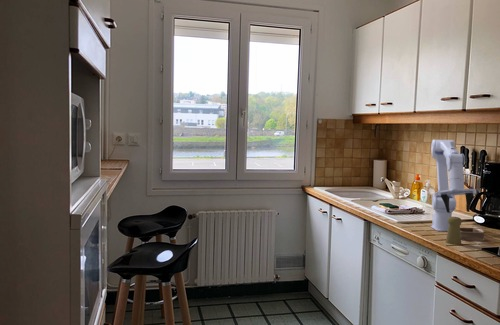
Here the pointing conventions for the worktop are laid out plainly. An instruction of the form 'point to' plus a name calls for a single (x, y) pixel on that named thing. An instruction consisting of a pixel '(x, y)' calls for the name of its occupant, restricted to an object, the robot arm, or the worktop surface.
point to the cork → (454, 231)
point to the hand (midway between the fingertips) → (457, 211)
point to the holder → (471, 234)
